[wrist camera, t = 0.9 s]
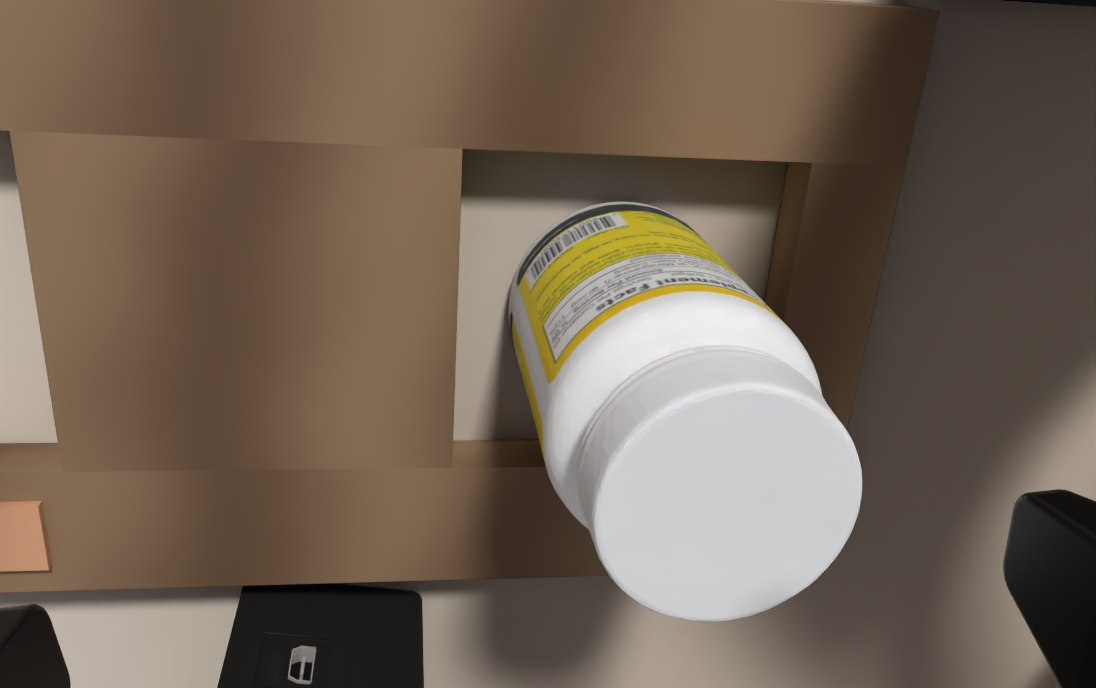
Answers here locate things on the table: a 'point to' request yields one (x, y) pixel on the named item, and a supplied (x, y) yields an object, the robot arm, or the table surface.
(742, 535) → the supplement bottle
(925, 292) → the table surface
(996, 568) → the table surface
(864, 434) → the table surface
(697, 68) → the jack panel
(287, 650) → the digital camera
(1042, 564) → the robot arm
